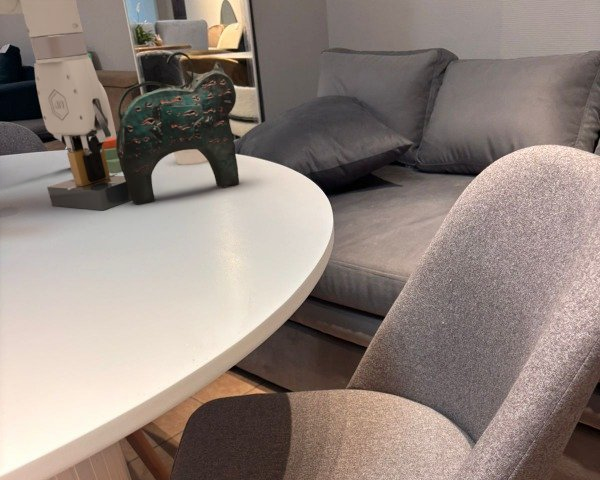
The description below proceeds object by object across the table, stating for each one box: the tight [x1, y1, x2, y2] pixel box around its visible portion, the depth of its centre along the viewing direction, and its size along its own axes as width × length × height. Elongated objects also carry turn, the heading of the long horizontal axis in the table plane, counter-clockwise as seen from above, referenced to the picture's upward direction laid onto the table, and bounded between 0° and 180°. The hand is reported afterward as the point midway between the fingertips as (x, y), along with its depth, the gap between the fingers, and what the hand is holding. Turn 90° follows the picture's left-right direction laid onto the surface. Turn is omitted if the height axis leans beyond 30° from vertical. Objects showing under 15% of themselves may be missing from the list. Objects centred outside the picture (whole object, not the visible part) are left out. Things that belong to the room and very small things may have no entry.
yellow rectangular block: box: [66, 145, 111, 186], centre depth 101 cm, size 6×2×5 cm, turn 148°
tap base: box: [46, 173, 132, 211], centre depth 104 cm, size 12×10×3 cm
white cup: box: [173, 149, 208, 166], centre depth 124 cm, size 8×8×10 cm
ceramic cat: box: [116, 51, 240, 205], centre depth 98 cm, size 20×6×20 cm, turn 116°
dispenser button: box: [103, 138, 116, 149], centre depth 126 cm, size 4×4×2 cm
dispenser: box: [104, 148, 123, 174], centre depth 127 cm, size 10×8×4 cm
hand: (92, 178), depth 103 cm, fingers closed on yellow rectangular block
